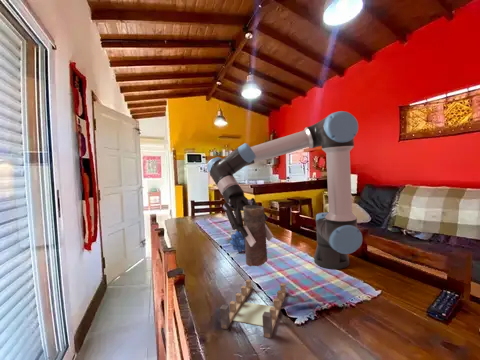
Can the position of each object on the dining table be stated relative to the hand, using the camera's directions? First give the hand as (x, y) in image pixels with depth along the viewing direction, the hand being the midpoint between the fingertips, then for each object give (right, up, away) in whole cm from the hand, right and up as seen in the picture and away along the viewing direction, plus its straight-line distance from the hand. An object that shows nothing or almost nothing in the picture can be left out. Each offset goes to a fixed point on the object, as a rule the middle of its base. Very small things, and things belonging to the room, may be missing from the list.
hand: (262, 241), depth 80 cm
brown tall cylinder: (-2, -9, +3) cm, 9 cm away
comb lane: (-2, -22, -1) cm, 22 cm away
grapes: (-7, -19, +52) cm, 56 cm away
